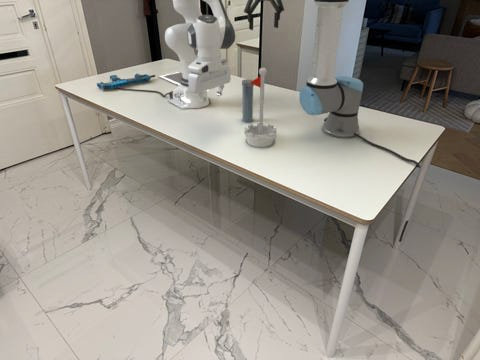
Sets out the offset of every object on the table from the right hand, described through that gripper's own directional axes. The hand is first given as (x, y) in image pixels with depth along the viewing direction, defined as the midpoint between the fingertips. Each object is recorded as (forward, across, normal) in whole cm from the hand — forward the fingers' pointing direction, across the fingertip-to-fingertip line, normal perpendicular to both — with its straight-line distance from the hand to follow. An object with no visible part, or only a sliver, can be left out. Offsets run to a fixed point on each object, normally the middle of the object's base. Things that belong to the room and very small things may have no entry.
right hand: (263, 28), depth 163 cm
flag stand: (+36, +24, +43) cm, 61 cm away
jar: (+36, +19, +21) cm, 46 cm away
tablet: (+36, +26, -54) cm, 69 cm away
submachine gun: (+36, +61, -64) cm, 95 cm away
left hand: (+19, +40, +31) cm, 54 cm away
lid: (+17, +19, +21) cm, 33 cm away
